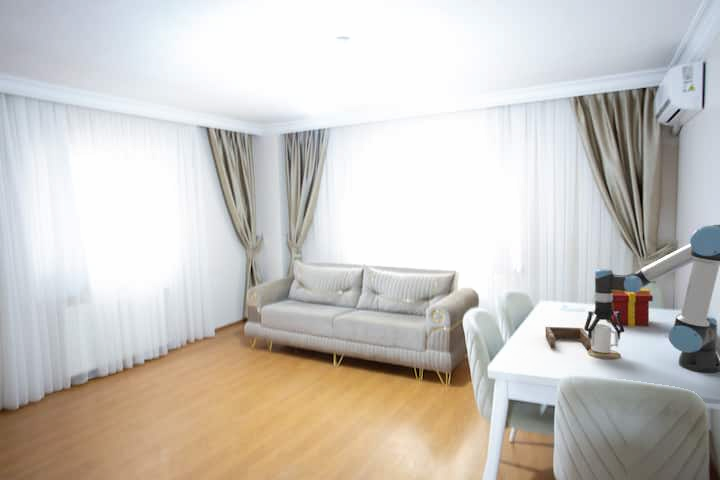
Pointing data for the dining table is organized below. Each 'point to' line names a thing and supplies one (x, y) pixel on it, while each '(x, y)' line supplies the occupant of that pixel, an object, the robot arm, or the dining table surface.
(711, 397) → the dining table surface
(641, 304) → the gift box
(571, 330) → the cradle
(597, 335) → the mug
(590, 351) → the coaster
